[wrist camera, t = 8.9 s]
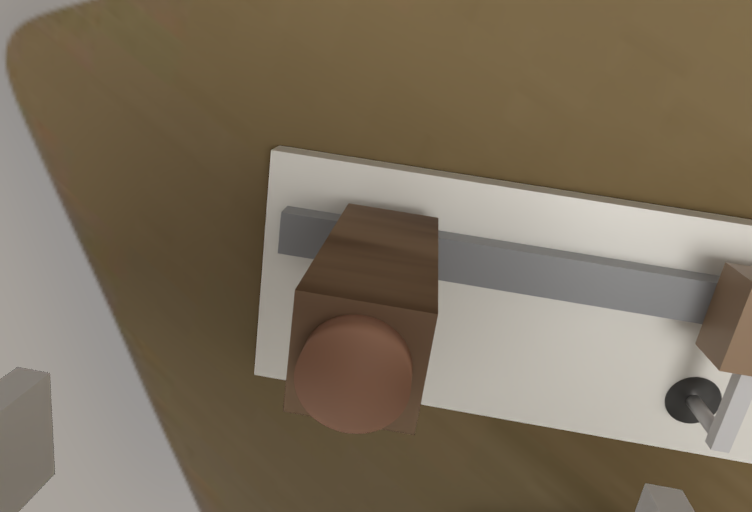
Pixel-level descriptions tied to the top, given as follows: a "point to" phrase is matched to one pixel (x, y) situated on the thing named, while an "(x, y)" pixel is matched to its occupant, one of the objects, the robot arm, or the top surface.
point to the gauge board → (545, 300)
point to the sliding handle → (365, 323)
